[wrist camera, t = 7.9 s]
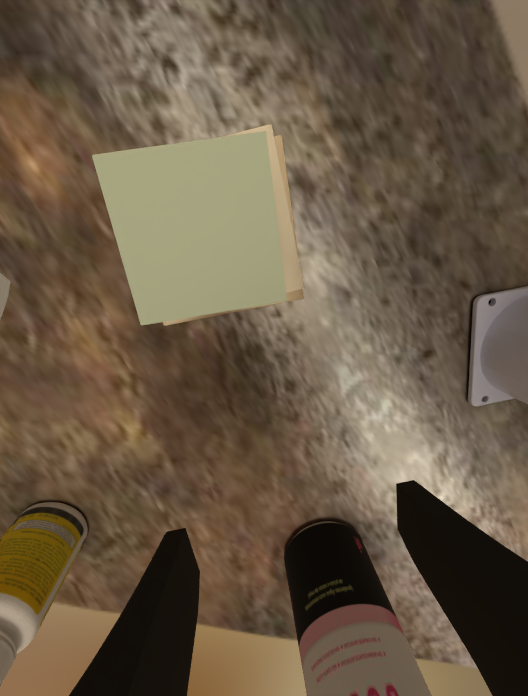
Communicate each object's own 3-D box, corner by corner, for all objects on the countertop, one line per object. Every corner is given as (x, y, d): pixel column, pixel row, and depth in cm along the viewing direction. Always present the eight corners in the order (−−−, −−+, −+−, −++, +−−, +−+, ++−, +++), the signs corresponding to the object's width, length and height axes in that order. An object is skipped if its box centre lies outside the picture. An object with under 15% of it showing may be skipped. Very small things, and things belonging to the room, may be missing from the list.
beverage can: (367, 561, 26) (535, 946, 11) (296, 585, 26) (373, 999, 11) (350, 506, 23) (530, 893, 9) (273, 533, 24) (333, 959, 9)
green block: (253, 181, 13) (265, 130, 8) (267, 284, 14) (286, 301, 9) (150, 196, 13) (92, 155, 7) (175, 299, 14) (141, 325, 9)
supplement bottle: (16, 497, 20) (-125, 654, 12) (89, 501, 21) (0, 652, 13) (21, 549, 22) (-103, 721, 14) (89, 551, 22) (9, 716, 14)
